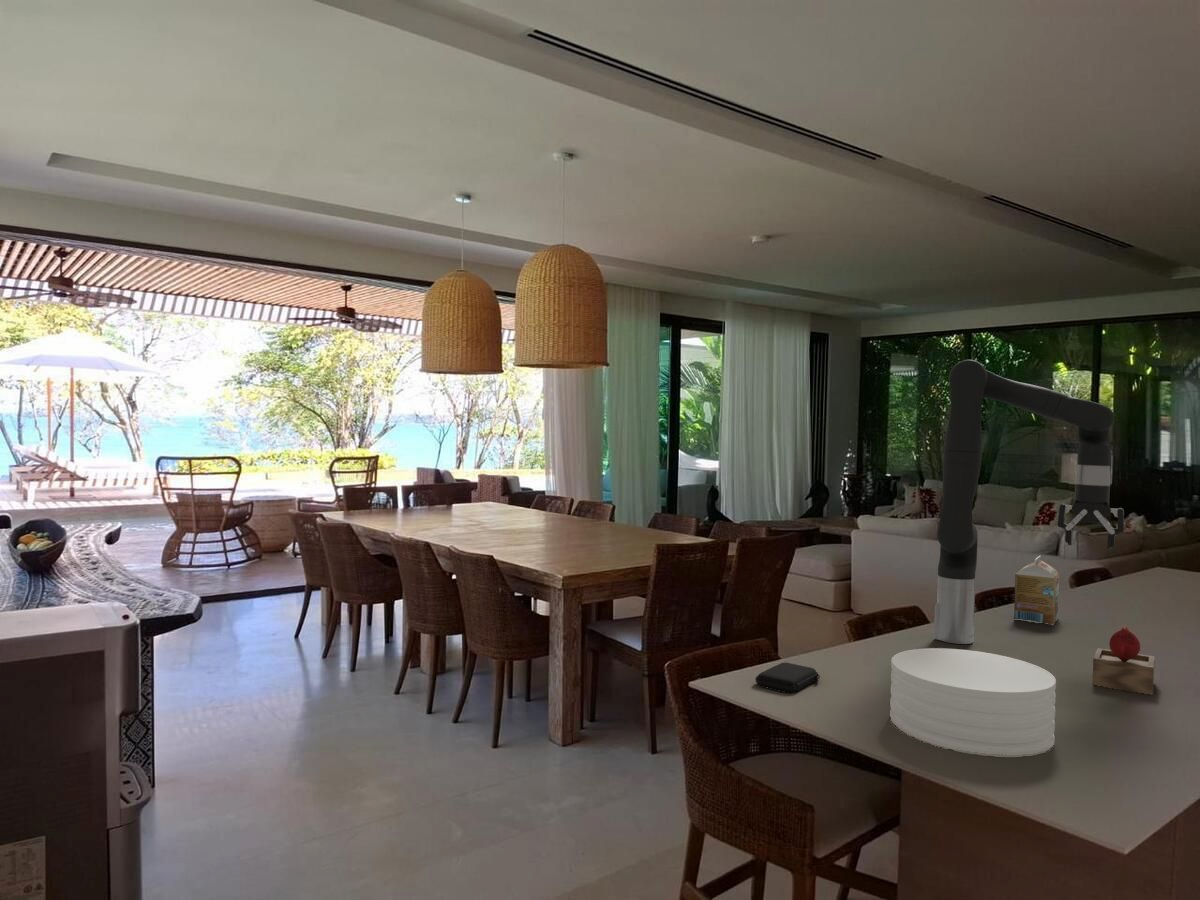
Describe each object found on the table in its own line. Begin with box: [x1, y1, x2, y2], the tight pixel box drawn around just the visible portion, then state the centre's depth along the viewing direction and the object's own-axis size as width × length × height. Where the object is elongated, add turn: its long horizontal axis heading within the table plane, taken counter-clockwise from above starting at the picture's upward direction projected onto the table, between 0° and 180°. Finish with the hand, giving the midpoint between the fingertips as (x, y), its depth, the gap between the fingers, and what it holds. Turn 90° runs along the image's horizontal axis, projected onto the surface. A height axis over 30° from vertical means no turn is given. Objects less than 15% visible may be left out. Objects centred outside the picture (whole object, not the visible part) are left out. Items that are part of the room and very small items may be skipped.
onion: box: [1108, 625, 1141, 662], centre depth 179 cm, size 6×6×8 cm
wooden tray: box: [1092, 647, 1156, 696], centre depth 179 cm, size 11×11×6 cm
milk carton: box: [1013, 555, 1061, 625], centre depth 242 cm, size 11×11×19 cm
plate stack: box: [889, 647, 1057, 755], centre depth 150 cm, size 28×28×12 cm
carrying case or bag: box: [755, 662, 821, 693], centre depth 176 cm, size 11×3×15 cm
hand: (1089, 546), depth 202 cm, fingers open, 8 cm apart
